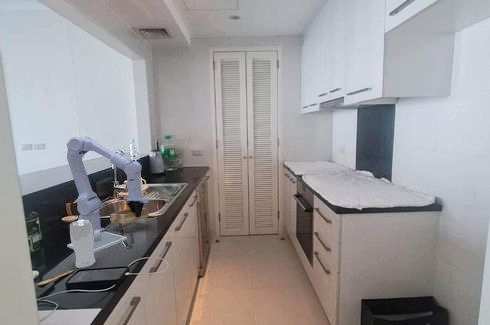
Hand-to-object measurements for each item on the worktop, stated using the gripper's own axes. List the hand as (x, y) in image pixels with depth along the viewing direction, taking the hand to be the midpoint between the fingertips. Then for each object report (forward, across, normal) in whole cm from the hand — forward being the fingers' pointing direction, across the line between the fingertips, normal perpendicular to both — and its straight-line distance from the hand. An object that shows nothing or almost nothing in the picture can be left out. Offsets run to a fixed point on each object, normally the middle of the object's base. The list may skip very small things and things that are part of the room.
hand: (137, 216), depth 126 cm
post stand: (+6, -3, -18) cm, 19 cm away
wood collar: (+2, -5, 0) cm, 6 cm away
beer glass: (+6, +11, -31) cm, 34 cm away
